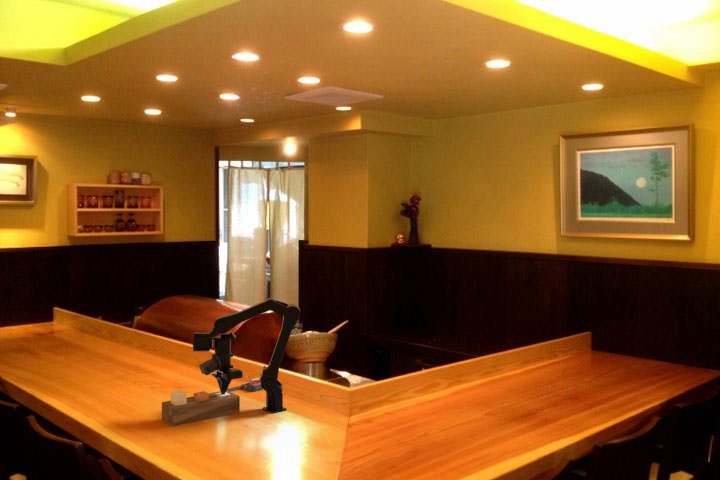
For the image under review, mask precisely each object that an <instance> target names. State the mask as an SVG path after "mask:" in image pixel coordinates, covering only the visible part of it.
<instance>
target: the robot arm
mask: <svg viewBox="0 0 720 480" xmlns="http://www.w3.org/2000/svg"><path fill="white" fill-rule="evenodd" d="M269 311H271V312H274V313H276V314H277V315H279V316H282V324H281V325H282V326H281V329H280V332H279V334H278V335H279V336H278V337H277V340H276V344H275V347H274V349H273V353H272V356H271V358H270V361H269V363H268V365H267V366H266V365H263V367H262V372H261V374H260V375H259V378H260V380H261V387H262V388H263V389H264V390H263V391H265V392H266V393H265V394H266V396H265V406H264V407H262V410H264V411H267V412H268V413H270V414H274V413H278V412H283V411H287V408H285V407H284V401H283V400H284V399H283V398H284V394H283V384H282V382H281V381H279V380H278V377H279V370H280V366H281V363H282V360H283V357H284V355H285V351H286V348H287V346H288V343H289V341H290V336H291V334H292V331H293V330H294V328H295V327H296V325H297V323H298V322H299V320H300V317H301V309H300V307H299V306H298V305H297V304H296V303H289V304H288V303H286V302H283V301H280V300H276V299H274V298H272V297H269V298H267V299H265V300H263V301H261V302H259V303H256V304H254V305H251V306H249V307H246V308H245V309H242V310H240V311H237V312H233V313H232V312H231V313H226V314H223V315H222V314H221V315H219V316H218V317H217V318H216V319H215V321H214V322H213V328H212V329H211V330H210V331H209V332H194V334H193V341H192V351H193V353H200V352H203V353H204V352H211V350H213V348H214V353H212V354H211V358H210V359H207V360H206V361H204V362H202V363H200V364H199V365H198V367H199V369H200V372H201V374H202V375H205V376H209V375H211V376H212V377H213V378H215V379H216V381H217V384H218V385H217V386H218V388H219V392H220V391H221V394H225V393H226V391H227V389H228V388H229V386H230V384H231V382H232V380H237V379H243V378H244V373H243V370H241V369H239V368H236V367H235V368H234V364H232V358H233V357H234V353H232V347H231V346H232V340H236V338H237V335H235V333H234V332H233V331H231V330H233V329H234V328H235V327H237V326H238V325H239V324H241V323H243V322H246V321H248V320H251V319H253V318H255V317H258V316H260V315H262V314H264V313H265V314H266V313H267V312H269ZM228 332H229V333H228ZM218 335H219V336H218Z"/></svg>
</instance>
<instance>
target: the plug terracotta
mask: <svg viewBox="0 0 720 480" xmlns="http://www.w3.org/2000/svg"><path fill="white" fill-rule="evenodd" d="M209 393H210V392H209ZM209 393H208V392H207V391H205V390H203V391H198V392H193V393H192V394H193V396H192V397H194V400H196V401H198V402H199V401H205V400H209Z"/></svg>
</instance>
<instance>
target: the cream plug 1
mask: <svg viewBox="0 0 720 480" xmlns="http://www.w3.org/2000/svg"><path fill="white" fill-rule="evenodd" d="M170 401H171V404H172V405H174V406H179V405H184V404H187V392H186V391H185V390H183V389H179V390H173V391H170Z"/></svg>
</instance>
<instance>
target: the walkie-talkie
mask: <svg viewBox="0 0 720 480" xmlns="http://www.w3.org/2000/svg"><path fill="white" fill-rule="evenodd" d="M239 389H243V390H245V391H249V392H251V393H256V391H257V392H260V390H261V391H264V390H263V388H262V387H261V380H260V377H257V378H252V379H250V380H249V381H247V382H242V383H241V384H240V385H237V386H232V387H228V388H227V391H229V392H231V391H233V390H239Z"/></svg>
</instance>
